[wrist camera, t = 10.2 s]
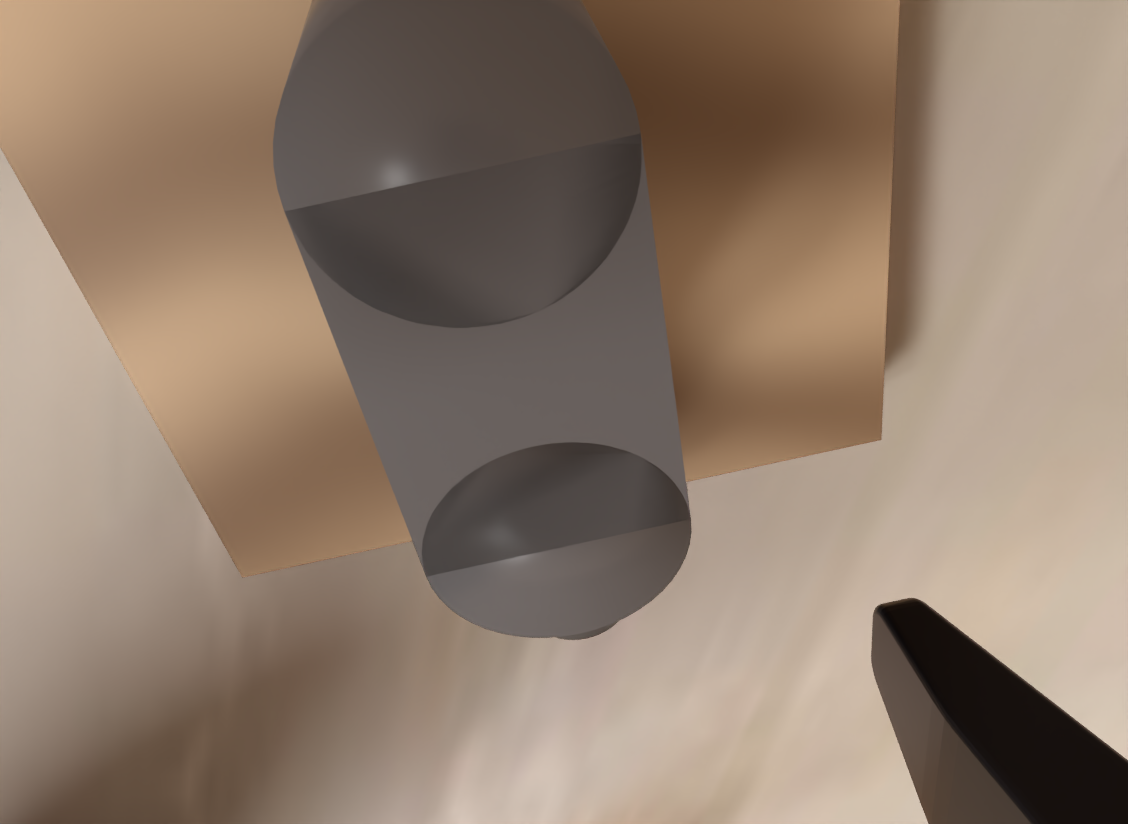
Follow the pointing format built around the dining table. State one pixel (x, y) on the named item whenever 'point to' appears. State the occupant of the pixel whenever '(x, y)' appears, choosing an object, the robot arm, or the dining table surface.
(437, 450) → the plug
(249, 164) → the oak board
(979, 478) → the dining table surface
